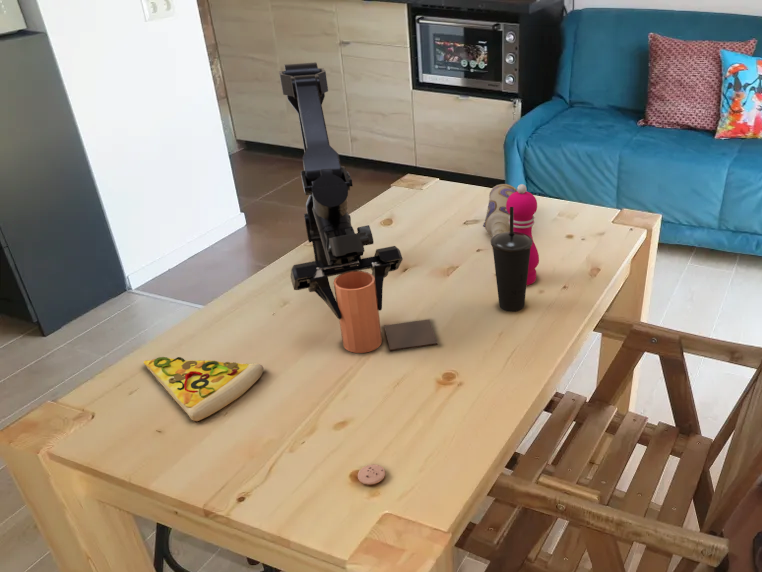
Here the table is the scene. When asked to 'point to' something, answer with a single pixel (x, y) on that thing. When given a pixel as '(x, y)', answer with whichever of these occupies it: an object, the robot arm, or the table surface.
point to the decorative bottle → (498, 210)
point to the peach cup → (358, 311)
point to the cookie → (371, 474)
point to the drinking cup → (511, 266)
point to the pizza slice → (203, 382)
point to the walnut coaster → (410, 335)
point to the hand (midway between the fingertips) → (360, 314)
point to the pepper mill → (525, 223)
